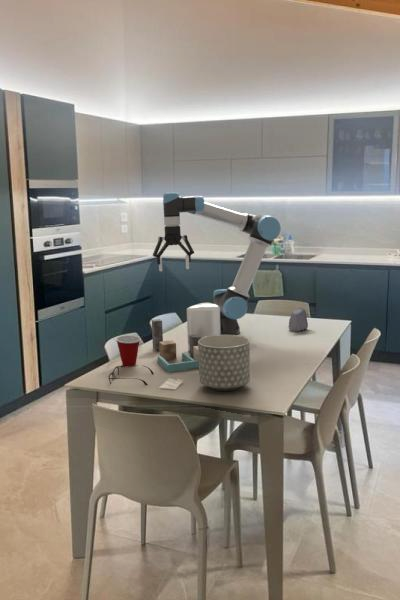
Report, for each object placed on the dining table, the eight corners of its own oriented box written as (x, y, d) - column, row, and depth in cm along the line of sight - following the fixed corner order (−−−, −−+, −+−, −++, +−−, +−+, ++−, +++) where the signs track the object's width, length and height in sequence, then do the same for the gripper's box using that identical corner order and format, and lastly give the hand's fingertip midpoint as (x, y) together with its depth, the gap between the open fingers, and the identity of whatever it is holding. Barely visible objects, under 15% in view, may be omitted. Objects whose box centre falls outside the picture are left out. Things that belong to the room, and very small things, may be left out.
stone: (296, 329, 309) (312, 326, 303) (288, 337, 301) (305, 333, 295) (288, 310, 307) (304, 306, 301) (280, 316, 300) (296, 312, 293)
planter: (192, 393, 209) (190, 345, 206) (209, 377, 227) (208, 333, 223) (241, 398, 202) (240, 349, 199) (256, 382, 220) (255, 336, 217)
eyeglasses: (117, 373, 237) (117, 364, 236) (155, 374, 235) (154, 364, 234) (107, 386, 221) (106, 377, 220) (147, 387, 219) (146, 377, 218)
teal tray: (208, 355, 258) (208, 349, 257) (221, 364, 244) (221, 357, 243) (157, 362, 250) (157, 355, 249) (167, 372, 236) (167, 365, 235)
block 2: (200, 355, 258) (199, 334, 257) (211, 363, 245) (210, 341, 244) (187, 357, 256) (187, 335, 255) (198, 365, 243) (197, 342, 242)
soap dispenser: (205, 343, 279) (203, 299, 275) (229, 347, 271) (228, 301, 267) (186, 350, 267) (185, 304, 263) (211, 355, 259) (210, 307, 255)
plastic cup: (133, 369, 240) (132, 341, 238) (112, 367, 245) (110, 339, 243) (146, 362, 250) (145, 336, 248) (125, 360, 255) (124, 334, 252)
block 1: (162, 347, 274) (161, 318, 272) (176, 358, 255) (175, 327, 252) (150, 348, 272) (149, 320, 270) (163, 360, 253) (162, 329, 250)
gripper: (194, 223, 279) (195, 267, 282) (144, 226, 270) (147, 271, 274) (199, 224, 272) (201, 268, 276) (149, 227, 263) (151, 273, 267)
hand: (174, 270), depth 275 cm, fingers open, 13 cm apart
